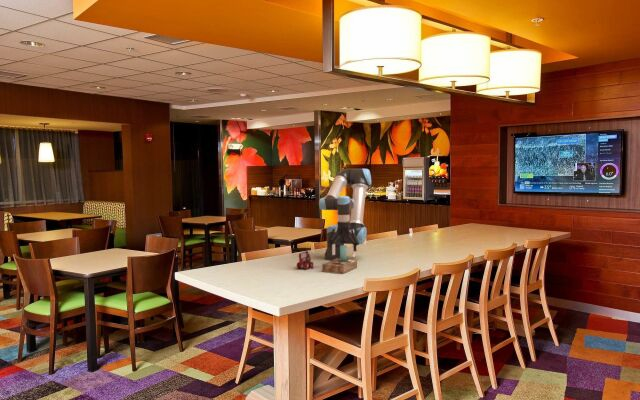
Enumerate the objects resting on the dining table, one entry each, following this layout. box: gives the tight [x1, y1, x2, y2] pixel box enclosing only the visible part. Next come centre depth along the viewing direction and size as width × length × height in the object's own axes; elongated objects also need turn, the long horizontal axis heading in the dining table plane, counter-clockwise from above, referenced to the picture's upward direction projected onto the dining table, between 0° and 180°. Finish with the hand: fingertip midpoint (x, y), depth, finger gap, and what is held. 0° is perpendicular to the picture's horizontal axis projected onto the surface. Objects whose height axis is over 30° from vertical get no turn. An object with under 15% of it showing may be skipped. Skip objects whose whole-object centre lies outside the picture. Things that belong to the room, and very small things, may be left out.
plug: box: [340, 244, 348, 262], centre depth 296 cm, size 4×4×13 cm
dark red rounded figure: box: [296, 250, 314, 271], centre depth 296 cm, size 7×12×10 cm, turn 151°
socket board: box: [321, 259, 358, 275], centre depth 292 cm, size 14×20×5 cm
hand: (343, 255), depth 296 cm, fingers open, 13 cm apart
